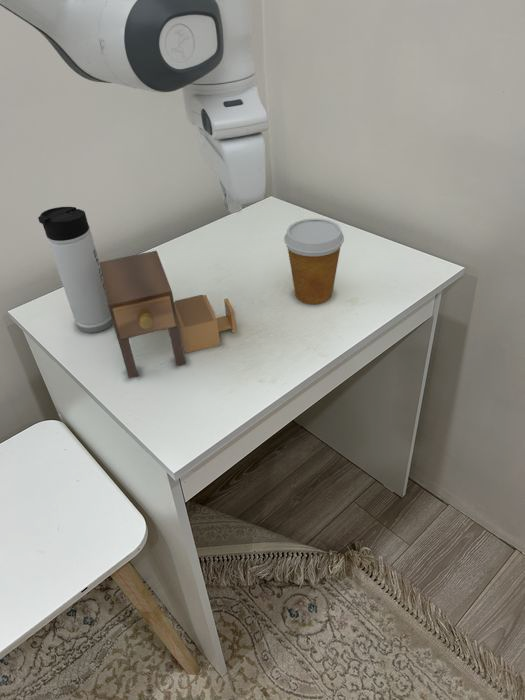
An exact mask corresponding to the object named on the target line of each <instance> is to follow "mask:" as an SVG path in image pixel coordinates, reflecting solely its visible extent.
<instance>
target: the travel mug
mask: <svg viewBox="0 0 525 700" xmlns="http://www.w3.org/2000/svg"><path fill="white" fill-rule="evenodd" d="M37 219H38V222H39V224H41V225H42V227H43V229H44V232H45V237H46V239H47V241H48V242H47V243H48V246H49V248H50V251H51V254H52V257H53V260H54V264H55V266H56V269H57V273H58V275H59V278H60V280H61V284H62V287H63V290H64V292H65V295H66V298H67V301H68V304H69V307H70V311H71V313H72V316H73V318H74V321H75V324H76V327H77V329H78V330H79V331H81V332H83V333H88V334H93V333H94V334H95V333H99V332H102V331H104V330H106V329H108V328H110V327H111V326H113V321H112V318H111V314H110V311H109V308H108V304H107V298H106V293H105V288H104V283H103V278H102V272H101V267H100V262H101V261H100V259H99V256H98V251H97V248H96V245H95V242H94V238H93V235H92V234H93V233H92V231H91V227H90V225H89V223H88V218H87V215H86V211H85V210H82V209H81V208H80V209H79V208H77V207H76V206H75V207H74V206H58V207H53V208H49V209H47V210H44V211H42V212H41V213H40V215H39V216H38V217H37Z"/></svg>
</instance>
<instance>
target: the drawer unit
mask: <svg viewBox="0 0 525 700" xmlns="http://www.w3.org/2000/svg"><path fill="white" fill-rule="evenodd" d="M99 262H100V267H101V272H102V278H103V283H104V288H105V293H106V298H107V304H108V308H109V311H110V314H111V318H112V321H113V324H112V326H113V327H114V328H113V329H114V332H115V334H116V338H117V343H118V345H119V349H120V353H121V356H122V360H123V363H124V366H125V370H126V373H127V378H128V379H132V378H137V377H139V372H138V369H137V368H138V367H137V365H136V360H135V358H134V354H133V350H132V346H131V343H130V342H131V341H130V339H131V338H135V337H140V336H144V335H147V334H151V333H158V332H160V331H165V330H168V334H169V339H170V344H171V348H172V354H173V360H174V362H175V363H174V364H175V366H176V367H180V366H184V365H186V364H187V363H186V358H185V351H184V347H183V344H182V341H181V336H180V331H179V326H178V321H177V315H176V310H175V305H174V302H175V300H174V296H173V295H174V294H173V290H172V287H171V285H170V283H169V280H168V277H167V274H166V271H165V269H164V266H163V264H162V261H161V258H160V256H159V253H158V250H151V251H147V252H143V253H138V254H132V255H128V256H123V257H119V258H113V259H108V260H104V261H103V260H102V261H99Z"/></svg>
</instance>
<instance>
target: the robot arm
mask: <svg viewBox="0 0 525 700" xmlns="http://www.w3.org/2000/svg"><path fill="white" fill-rule="evenodd" d="M0 7H2V8H4V9H5V10H6V11H9V12H10V13H11V14H13V15H15V17H18V18H19V19H21V20H22V21H24V22H26V23H27V24H28V25H30V26H32V27H33V28H34V29H35V30H37V32H39V33H40V34H41V35H42V36H43V37H44V38H45V39H46V40H47V41H48V43H49V44H50V45H51V46H52V47H53V49H54V50H55V52H56V53H57V54H58V55H59V57H60V58H61V59H62V60H63V61H64V63H65V64H66V65H67V66H68V67H69V68H70V69H71V70H72V71H73V72H74V73H76V74H77V75H79V76H80V77H82V78H84V79H86V80H88V81H91V82H95V83H104V84H114V85H120V86H123V87H128V88H133V89H138V90H143V91H147V92H152V93H159V94H160V93H162V94H163V93H171V92H175V91H178V90H182V97H183V104H184V110H185V117H186V121H187V122H188V123H190V124H192V125H194V126H196V127H195V128H196V137H197V143H198V144H197V145H198V148H199V153H200V155H201V156H202V158H203V159H204V160H205V162H206V163H207V164H208V166H209V167H210V169H211V170H212V171H213V173H214V174H215V176H216V178H217V179H218V184H219V187H220V190H221V193H222V200H223V204H224V206H225V207H226V209H227V210H228V212H229V213H230V214H236V213H240V212H242V210H243V205H246V204H251V203H255V202H259V201H262V200H263V199H264V197H265V194H266V191H267V190H266V189H267V155H266V151H267V150H266V143H265V138H264V134H263V133H264V132H267V131H268V129H269V117H268V112H267V110H266V109H265V107H264V105H263V103H262V100H261V98H260V93H259V88H258V84H257V83H258V82H257V81H258V80H257V70H256V64H255V61H254V58H253V56H252V55H253V54H252V47H251V46H252V45H251V44H252V37H253V36H252V35H253V30H254V29H253V28H254V26H253V25H254V24H253V12H252V0H0Z"/></svg>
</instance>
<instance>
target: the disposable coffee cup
mask: <svg viewBox="0 0 525 700" xmlns="http://www.w3.org/2000/svg"><path fill="white" fill-rule="evenodd" d="M283 241H284V244H285V245H286V248H287V251H288V252H287V253H288V257H289V259H288V260H289V264H290V270H291V277H292V284H293V288H294V289H293V290H294V294H295V295H294V296H295V298H296V299H297V300H298V301H299V302H301V303H303V304H306V305H320V304H324V303H326V302H328V301H330V299H331V298H332V296H333V291H334V287H335V281H336V274H337V269H338V264H339V263H338V262H339V258H340V252H341V247H342V245H343V243H344V241H345V235H344V233H343V231H342V228H341V226H340V225H339V224H337V223H336V222H335V221H332V220H330V219H325V218H305V219H301V220H298V221H295V222H293V223H291V224H290V225H289V226H288V228H287V229H286V233H285V234H284V236H283Z"/></svg>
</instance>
